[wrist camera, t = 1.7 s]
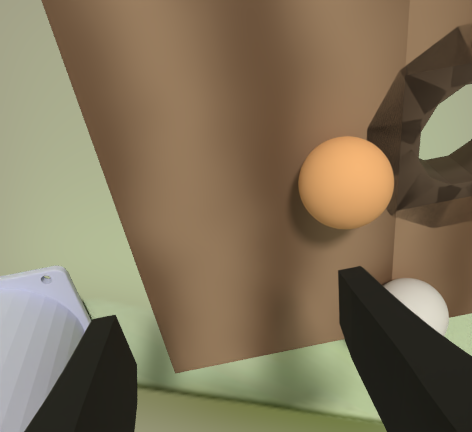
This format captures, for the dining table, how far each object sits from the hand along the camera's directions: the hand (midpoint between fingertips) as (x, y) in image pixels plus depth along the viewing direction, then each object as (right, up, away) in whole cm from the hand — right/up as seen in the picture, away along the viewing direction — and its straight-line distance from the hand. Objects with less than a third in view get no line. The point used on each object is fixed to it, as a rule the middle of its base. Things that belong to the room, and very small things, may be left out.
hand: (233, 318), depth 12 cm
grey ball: (+8, -2, +9) cm, 13 cm away
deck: (+5, +7, +8) cm, 12 cm away
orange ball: (+4, +4, +5) cm, 8 cm away
